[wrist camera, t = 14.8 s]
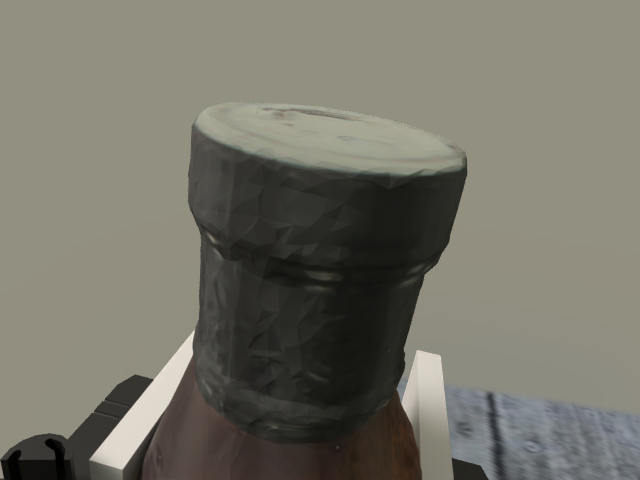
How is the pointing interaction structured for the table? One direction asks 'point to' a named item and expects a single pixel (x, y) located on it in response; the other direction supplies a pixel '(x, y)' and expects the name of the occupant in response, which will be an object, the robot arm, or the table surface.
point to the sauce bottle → (305, 293)
